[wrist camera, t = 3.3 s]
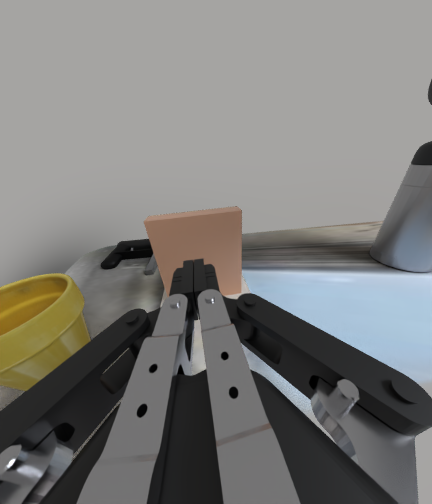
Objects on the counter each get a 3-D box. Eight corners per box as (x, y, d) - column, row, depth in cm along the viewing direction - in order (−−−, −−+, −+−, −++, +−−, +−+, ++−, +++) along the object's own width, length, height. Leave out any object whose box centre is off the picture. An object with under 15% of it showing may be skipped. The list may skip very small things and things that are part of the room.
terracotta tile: (237, 283, 28) (236, 206, 22) (241, 293, 26) (241, 210, 19) (171, 293, 28) (148, 215, 21) (169, 304, 25) (143, 221, 19)
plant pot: (123, 322, 24) (93, 271, 19) (59, 420, 15) (-29, 368, 10) (62, 322, 25) (20, 272, 20) (-32, 412, 16) (-150, 361, 11)
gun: (178, 264, 33) (186, 232, 47) (84, 273, 33) (120, 238, 47) (181, 276, 35) (188, 241, 48) (92, 284, 35) (124, 247, 48)
